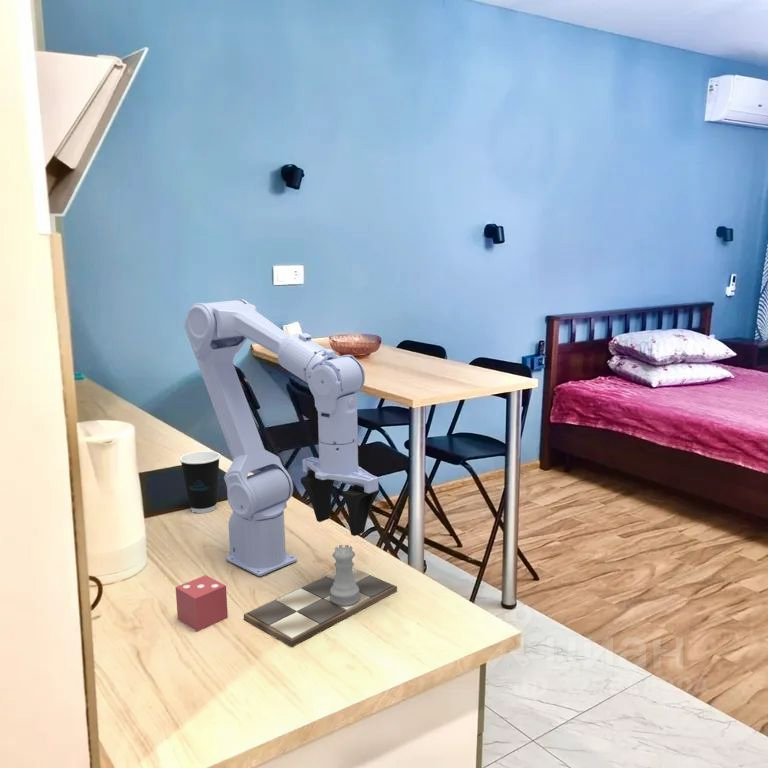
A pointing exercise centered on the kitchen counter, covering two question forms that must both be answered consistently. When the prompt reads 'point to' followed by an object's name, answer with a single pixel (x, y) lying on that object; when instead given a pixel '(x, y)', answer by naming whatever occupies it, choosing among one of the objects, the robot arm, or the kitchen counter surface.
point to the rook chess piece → (344, 578)
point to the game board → (314, 608)
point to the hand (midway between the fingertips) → (340, 526)
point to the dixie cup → (201, 479)
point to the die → (201, 602)
